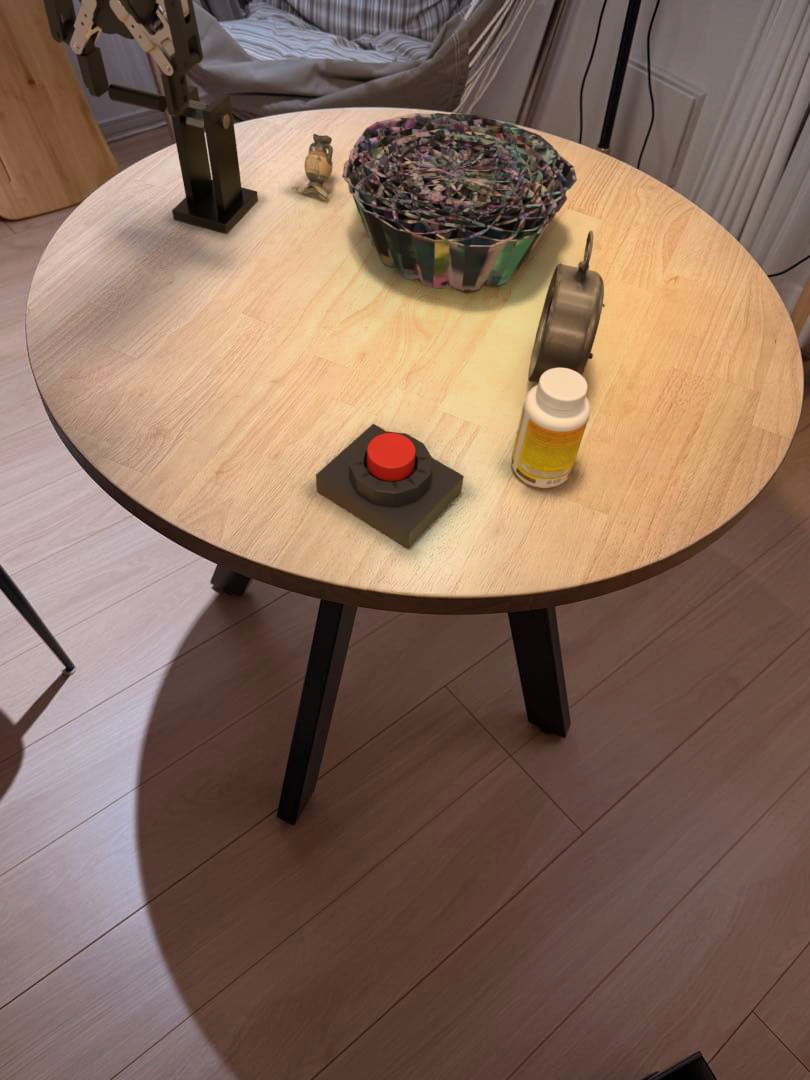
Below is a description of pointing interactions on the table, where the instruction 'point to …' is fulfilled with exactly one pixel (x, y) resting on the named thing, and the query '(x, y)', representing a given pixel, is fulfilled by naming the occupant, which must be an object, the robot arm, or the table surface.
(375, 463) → the button
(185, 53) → the robot arm
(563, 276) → the alarm clock
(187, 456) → the table surface
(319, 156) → the vase
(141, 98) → the lever
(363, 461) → the control block
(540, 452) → the supplement bottle
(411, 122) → the decorative bowl
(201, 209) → the bracket
